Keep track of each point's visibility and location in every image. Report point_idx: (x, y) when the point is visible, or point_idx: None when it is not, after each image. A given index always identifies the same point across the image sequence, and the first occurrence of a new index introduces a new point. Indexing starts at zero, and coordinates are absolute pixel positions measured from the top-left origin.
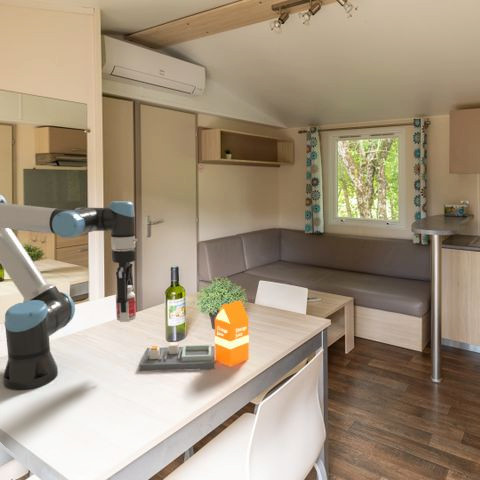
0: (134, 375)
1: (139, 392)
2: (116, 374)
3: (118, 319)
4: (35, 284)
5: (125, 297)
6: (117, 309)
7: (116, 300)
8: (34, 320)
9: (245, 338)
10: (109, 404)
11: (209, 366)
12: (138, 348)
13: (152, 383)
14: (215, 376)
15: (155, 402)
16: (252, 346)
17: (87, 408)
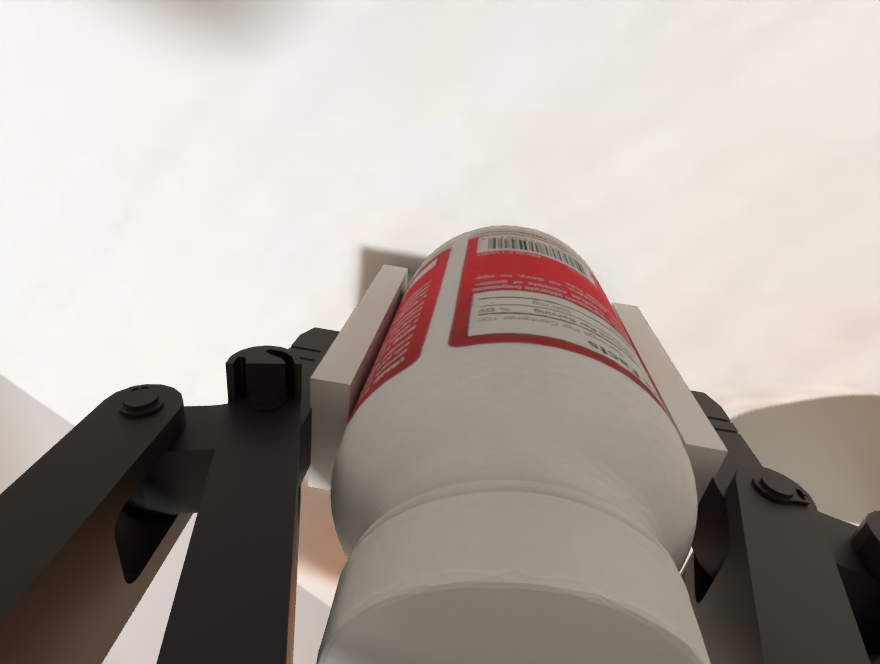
0: (347, 243)
1: (184, 266)
2: (371, 149)
3: (437, 248)
4: None
5: (124, 550)
6: (434, 282)
7: (441, 331)
8: None
9: None
10: (75, 142)
11: None
12: (708, 259)
13: (262, 319)
14: (305, 520)
15: (113, 323)
16: None
17: (27, 36)
